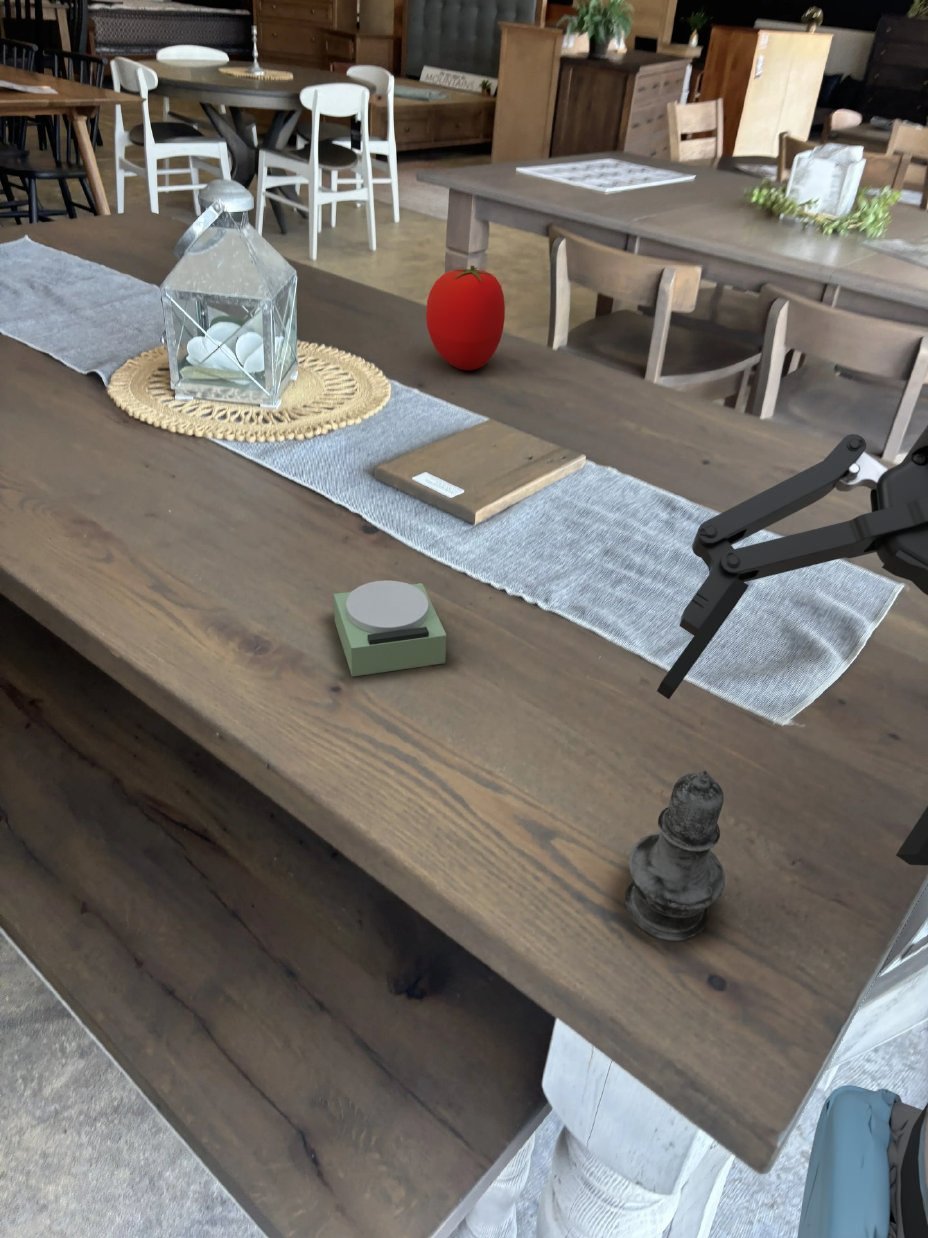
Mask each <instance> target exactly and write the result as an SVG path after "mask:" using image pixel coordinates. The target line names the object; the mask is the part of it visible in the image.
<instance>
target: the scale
mask: <svg viewBox="0 0 928 1238" xmlns="http://www.w3.org/2000/svg"><path fill="white" fill-rule="evenodd" d="M333 609H334V610H333V613H334V624H335V627H336V630H337V633H338V637H339V639H340V643H341V647H342V649H343V653H344V655H345V659H346V662H347V665H348V669H349V671H350V675H351V677H359V676H366V675H367V676H368V675H374V674H381V673H386V672H395V671H401V670H409V669H415V668H420V667H421V668H422V667H429V666H435V665H442V664H446V654H447V636H448V635H447V633H446V631H445V629H444V627H443V624H442V622H441V621H440V618H439V615H438V614H437V612H436V609H435V607H434V606H433V603H432V601H431V599H430V597H429V594H428V593H427V590H426V589H425V586H424V584H423V583H422V582H421V583H412V584H410V583H406V582H404V581H399V580H376V581H370V582H367V583H364V584H362V585H360V586H357V587H356V588H355V589H353V590H352V591H347V592H338V593H333Z"/></svg>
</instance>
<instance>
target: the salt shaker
mask: <svg viewBox="0 0 928 1238" xmlns="http://www.w3.org/2000/svg"><path fill="white" fill-rule="evenodd" d="M724 799H725V795H724V790H723V788H722V787H721V786H720V784H719V782H718V781H716V780H715V779H714V778H712V777H711V776H710V774H709V773H708V772H707V770H702V771H699V772H690V773H687V774H684V775H682V776H679V778H678V779H677V780H676V782H675V783H674V785H673V788H672V791H671V795H670V799H669V802H668V806H667V807H665V808H664V809H663V810H662V811H660V814H659V815H658V819H657V825H658V826H657V827H658V830H659V832H656V833H655V832H654V833H650V834H649V835H647V836H644V837H643V838H641V839H640V840H639V841H637V842H636V843H635V844H634V845H633V847H632V848H631V851H630V853H629V858H628V868H629V873H630V877H631V879H632V880H631V881H630V882H629V883H628V885H627V887H626V890H625V895H624V903H625V909H626V910H627V913H628V915H629V917H630V919H631V920H632V921H633V922H634V923H635V925H636V926H637V927H638V928H640V929H641V930H642V931H643V932H645V933H646V934H648V935H650V936H652V937H654V938H657V939H658V940H659V939H660V940H662V941H667V942H683V941H687V940H691V939H693V938H695V937H697V936H699V934H700V933H701V932H702V931H703V930H704V929H705V927H706V925H707V923H708V920H709V907H710V906H711V905H712V904H714V903H715V902H717V900H718V899H719V898H720V897H721V896H722V894H723V891H724V890H725V886H726V873H725V870H724V866H723V864H722V863H721V861H720V860H719V858H718V857H717V855H716V854H715V853H714V852H713V851H712V850H711V849H712V848H714V847H715V846H716V845H717V844H718V842H719V840H720V838H721V829H720V826H719V824H718V823H719V818H720V814H721V811H722V808H723V806H724V801H725V800H724Z"/></svg>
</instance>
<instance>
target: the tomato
mask: <svg viewBox="0 0 928 1238" xmlns="http://www.w3.org/2000/svg"><path fill="white" fill-rule="evenodd" d="M478 268H479V266H477V267H475V265H473V264H472V265H471V264H470V269H468V268H460V269H459V268H452V269H451V270H450V271H446V272H445V273H442V274H441V276H440V277H439V278H438V279H436V280H435V281H434V283H433V285H432V287H431V288H430V290H429V294H428V297H427V300H426V310H425V318H426V319H425V320H426V321H425V322H426V327H427V332H428V334H429V339H430V340H431V342H432V345H433V347H434V348H435V350H436V352H437V353H438V354H439V356H440V357H442V359H443V360H444V361H445V362H446V363H447V364H448V365H450V366H452V367H454V368H457V369H459V370H460V371H474V370H477V369H479V368H482V367H484V366H485V365H486V364H487V363H488V362H489V361H490V360H491V359H492V357H493V355H494V354H495V352H496V351H497V350H498V346H499V345H500V342H501V339H502V335H503V332H504V328H505V327H504V326H505V319H506V318H505V317H506V305H505V295H504V292H503V288H502V285H501V283H500V282H499V280H498V279H497V277H496V276H495V273H494V274H493V273H490V272H488V271H486V270H481V269H478Z"/></svg>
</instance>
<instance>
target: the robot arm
mask: <svg viewBox="0 0 928 1238" xmlns="http://www.w3.org/2000/svg"><path fill="white" fill-rule="evenodd" d="M866 449H867V443H866V440H865V439H864V438H863V436H861V435H860V434H855V433H851V434H847V435H846V436H844V438H843V439H842V440H841V441H840V442H839V443H838V444H837V445H836V446H835V447H834V448H833V450H832V451H830V453H829V454H828V455H826V457H825V458H824V459H823V460H821V461H820V462H818V463H816V464H814V465H813V466H810V467H808V468H805V470H803V471H800V472H799V473H797V474H795V475H793V476H791V477H789V478H787V479H785V480H783V481H781V482H778V483H777V484H776V485H773V486H771V487H770V488H767V489H766V490H763V491H762V492H759V493H758V494H756V495H754V496H752V497H750V498H748V499H746V500H745V501H743V502H740V503H738V504H737V505H735V506H732V507H730V508H729V509H727V510H725V511H722V512H721V513H719V514H717V515H715V516H713V517H711V518H709V519H708V520H706V521H703V522H702V523H701V524H700V525H699V527H698V528H697V532H696V533H695V536H694V539H693V542H692V545H691V549H692V552H693V554H694V555H695V556H696V557H698V558H701V560H702V561H703V562H704V564H706V566H707V569H708V576H707V577H706V578H705V580H704V581H703V582H702V584H701V586H700V587H699V588H698V590H697V591H696V593H695V594H694V595H693V597H692V598H691V600H689V603H688V604H687V605H686V606H685V608H684V610H683V611H682V613H681V616H680V621H679V627H680V628H681V629H683V630H685V631H686V632H688V634H690V635H692V636H693V637H692V638H691V640H689V642H688V644H687V645H686V646H685V647H684V650H683V651H682V652H681V654H680V655H679V656H678V658H677V659H676V660H675V662H674V663H673V665H672V666H671V668H670V669H669V670H668V672H667V673H666V674H665V676H664V677H663V678H662V680H661V681H660V683H659V686H658V688H657V690H656V692H657V693H658V694H660V695H661V696H663V697H664V698H666V699H668V700H670V699H671V697H672V696H673V695H674V694H675V692H676V690H677V689H678V688H679V686H680V685H681V684H682V682H683V681H684V679H685V678H686V677H687V675H688V674H689V672H690V671H691V670H692V668H693V667H694V665H695V664H696V662H697V661H698V660H699V658H700V656H701V655H702V654H703V652H704V651H705V649H706V648H707V647H708V645H709V644H710V642H711V641H712V640H713V638H714V637H715V636H716V633H718V631H719V630H720V628H721V627H722V626H723V624H724V622H725V621H726V620H727V619H728V617H729V615H730V614H732V611H733V610H734V608H735V607H736V606H737V604H738V603H739V602H740V600H741V598H742V597H743V596H744V594H745V592H746V591H747V590H748V588H749V586H750V585H749V584H748V583H747V582H751V581H755V580H760V579H763V578H767V577H768V578H769V577H771V576H775V575H779V574H783V573H787V572H792V571H795V570H799V569H800V570H801V569H803V568H808V567H812V566H816V565H820V564H823V563H828V562H832V561H836V560H841V559H845V558H846V559H854V558H857V557H862V556H865V555H866V556H867V555H870V554H874V553H876V555H877V557H878V559H879V560H880V562H881V563H882V564H883V565H882V566H881V569H883V570H884V571H887V572H888V573H890V574H891V575H893V576H895V577H899V578H901V579H905V580H907V581H910V582H912V583H913V584H914V585H915V587H917V589H919V590H920V591H921V592H922V593H923V594H924V595H926V596H928V424H927V425H926V427H925V428H924V430H923V431H922V432H921V434H920V435H919V436H918V438H917V439H916V441H915V442H914V444H913V446H912V447H911V448H910V450H909V451H908V452H907V454H906V456H905V457H904V458H903V459H902V460H901V462H900V463H898V464H897V465H895V466H892V467H890V468H888V467H887V466H885V465H884V464H882V463H881V462H879V460H877V459H875V457H872V456H871V455H870V454H868V453H867V452H866ZM859 487H865V488H867V489H870V493H869V494H870V495H869V500H870V509H871V511H870V512H866V513H863V514H859V515H858V516H856V517H854V518H852V519H849V520H847V521H842V522H837V523H834V524H830V525H826V526H822V527H818V528H814V529H810V530H806V531H802V532H798V533H794V534H790V535H785V536H782V537H778V538H774V539H770V540H765V541H762V542H758V543H754V544H753V543H752V544H750V545H746V546H742V547H737V548H734V546H733V545H735V544H737V543H739V542H741V541H743V540H745V539H747V538H748V537H750V536H752V535H755V534H757V533H758V532H760V531H763V530H764V529H766V528H768V527H771V526H772V525H774V524H776V523H778V522H779V521H782V520H784V519H785V518H787V517H790V516H791V515H793V514H795V513H797V512H799V511H801V510H803V509H805V508H808V507H809V506H811V505H813V504H815V503H816V502H818V501H820V500H821V499H824V497H826V496H827V495H829V494H830V493H831V492H832V491H833V490H834V489H836V490H837V491H838V492H844V493H846V492H847V493H848V492H851V491H852V490H855V489H856V488H859ZM895 856H896V857H897V858H899V859H900V860H901V861H903V862H905V863H906V864H908V865H909V866H928V805H927V806H926V808H925V809H924V810H923V812H922V814H921V815H920V817H919V818H918V820H917V822H916V823H915V825H914V826H913V828H912V829H911V831H910V833H909V834H908V835H907V837H906V838H905V840H904V841H903V843H902V845H901V846H900V848H899V849H898V851H897V852H896V854H895ZM813 1135H814V1136H813V1140H812V1146H811V1151H810V1155H809V1161H808V1165H807V1171H806V1176H805V1183H804V1189H803V1195H802V1201H801V1202H802V1203H801V1209H800V1215H799V1222H798V1228H797V1236H796V1238H928V1102H927V1103H926V1104H925V1106H924V1107H923V1109H921V1108H919V1107H916V1106H913V1105H910V1104H907V1103H905V1102H903V1101H902V1099H901V1096H900V1094H898V1093H896V1092H894V1091H891V1090H889V1089H887V1088H879V1089H877V1090H872V1089H869V1088H864V1087H861V1086H857V1085H852V1084H851V1085H850V1084H847V1085H841V1086H839V1087H837V1088H835V1089H834V1090H833V1091H832V1092H830V1093H829V1095H828V1096H827V1098H825V1100H824V1103H823V1105H822V1108H821V1111H820V1114H819V1116H818V1120H817V1123H816V1127H815V1132H814V1134H813Z"/></svg>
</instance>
